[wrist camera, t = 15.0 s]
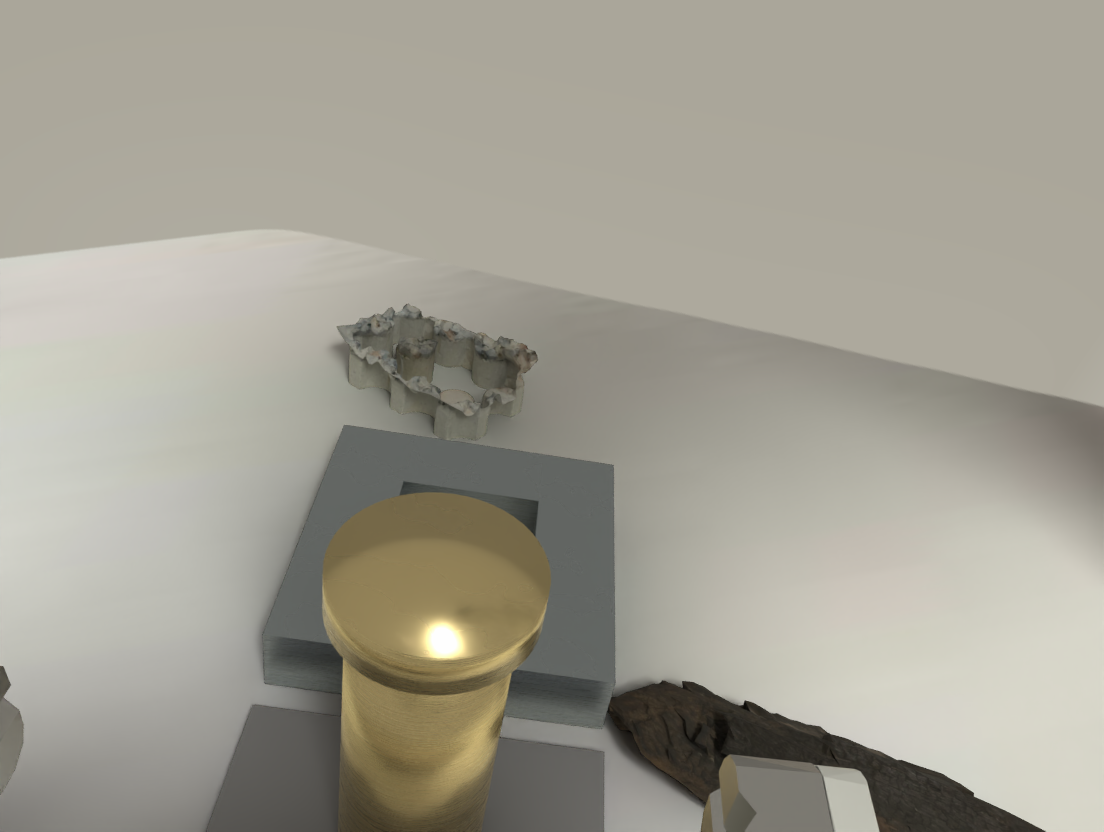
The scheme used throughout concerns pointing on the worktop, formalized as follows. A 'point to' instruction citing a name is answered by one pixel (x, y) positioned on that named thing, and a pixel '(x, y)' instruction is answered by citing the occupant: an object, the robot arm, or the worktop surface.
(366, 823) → the round headed pin
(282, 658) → the housing
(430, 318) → the egg carton
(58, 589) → the worktop surface
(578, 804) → the mat
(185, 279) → the worktop surface
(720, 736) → the wood
